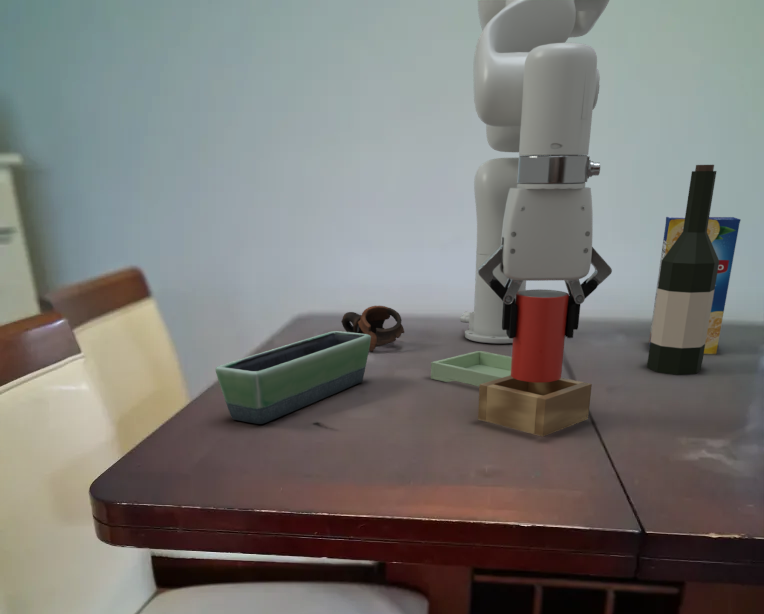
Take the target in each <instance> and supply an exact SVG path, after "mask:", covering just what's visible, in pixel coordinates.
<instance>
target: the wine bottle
mask: <svg viewBox="0 0 764 614" xmlns="http://www.w3.org/2000/svg"><path fill="white" fill-rule="evenodd" d="M714 169H715V164H695V170H691V175H690V180H689V181H690V182H689V189H688V195H687V201H686V209H685V214H684V217H685V221H684V228H683V232H682V234H681V235H680V236H679V238H678V239H677V241H676V242H675V243H674V245H673V246H672V247H671V249H670V250H669V251H668V253H667V254H666V255H665V257H664V258H663V260H662V263H661V270H660V277H659V284H658V291H657V298H656V306H655V313H654V320H653V327H652V334H651V341H650V346H649V348H648V356H647V364H646V368H647V369H648V370H651V371H654V372H656V373H659V374H670V375H677V376H679V375H696V374H698V373H699V372H700V371H701V370H702V366H703V359H704V355H705V354H704V348H705V342H706V336H707V331H708V325H709V319H710V313H711V307H712V301H713V295H714V289H715V283H716V278H717V272H718V266H719V259H718V257H717V255H716V252H715V250H714V248H713V245H712V243H711V241H710V238H709V236H708V234H707V227H708V221H709V217H710V215H711V208H712V202H713V196H714V189H715V183H716V177H717V173H718V172H717V170H714Z"/></svg>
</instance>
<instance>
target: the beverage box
mask: <svg viewBox="0 0 764 614" xmlns="http://www.w3.org/2000/svg"><path fill="white" fill-rule="evenodd" d="M684 221H685V216H666V217H665V225H664V232H663V240H662V246H661V253H660V254H661V255H660V261H659V262H660V263H659V268H658V275H657V281H656V282H657V284H656V289H655V297H654V302H653V303H654V304H653V310H652V317H651V318H652V319H651V326H650V332H649V339H648V345H649V347H650V341H651V334H652V327H653V320H654V313H655V306H656V298H657V291H658V284H659V277H660V270H661V263H662V260H663V258H664V257H665V255H666V254H667V253H668V251H669V250H670V249H671V247H672V246H673V245H674V243H675V242H676V241H677V239H678V238H679V236H680V235H681V234H682V232H683V228H684ZM740 224H741V219H740V218H737V217H734V216H709V221H708V227H707V234H708V236H709V238H710V241H711V243H712V245H713V248H714V250H715V252H716V255H717V257H718V259H719V266H718V272H717V278H716V283H715V289H714V295H713V301H712V307H711V313H710V319H709V325H708V331H707V336H706V342H705V348H704V354H703V355H717V353H718V347H719V341H720V335H721V331H722V324H723V318H724V312H725V307H726V302H727V296H728V292H729V291H728V290H729V286H730V285H729V284H730V279H731V273H732V269H733V262H734V257H735V253H736V251H735V250H736V246H737V240H738V235H739V229H740Z"/></svg>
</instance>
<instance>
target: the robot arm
mask: <svg viewBox="0 0 764 614" xmlns="http://www.w3.org/2000/svg"><path fill="white" fill-rule="evenodd" d="M609 2H610V0H477V12H478V19H479V23H480V24H479V25H480V28H481V33H480V34H479V37H478V39H477V42H476V46H475V50H474V56H473V69H472V72H473V73H472V74H473V75H472V77H473V79H472V80H473V102H474V109H475V112H476V115H477V116H478V118H479V119H480V121H481V122H482V123H483V124H485V130H486V140H487V144H488V145H489V146H490V148H491V149H492V150H495V151H498V152H501V153H518V157H496V158H492V159H489V160H486V161H485V162H483V163H481V164H480V165H479V166H478V168H477V169H476V172H475V175H474V181H473V191H474V199H475V200H474V203H475V213H476V251H475V253H476V255H475V275H474V276H475V278H474V303H473V311H465V312H463V314H462V315H461V316H460V317H459V322H460V323H465V324H468V329H466V330H465V331H464V337H465V338H466V339H467V340H469V341H472V342H476V343H483V344H495V345H497V344H498V345H500V344H501V345H502V344H505V345H506V344H513V338H514V337H515V336H516V322H517V305H516V304H515V300H516V294H517V292H519V291H524V290H527V288H526V287H527V281H530V282H531V281H535V282H536V281H537V282H538V281H564V284H565V287H566V290H567V293H568V294H569V300H568V310H567V321H566V331H565V338H567V339H573V338H574V331H577V330H578V329H579V325H580V314H581V313H580V312H581V305H582V304H583V303H584V302H585V301H586V299H587V298H588V297H589V296H590V295H591V294H592V293H593V292H594V291H596V289H597V288H598V286H599V285H601V284H602V283H603V282H604V281H605V280H607V278H608V277H609V276H611V274H612V272H613V268H612V267H611V266H610V265H609V264H608V263H607V261H606V260H605V259H604V258H603V257H602V256H601V255H600V254H599V253H598V251H597V250H596V249H595V248H594V247H593V199H592V197H593V196H592V188H591V187H589V186H588V187H587V186H586V183H588V180H589V179H590V178H592V177H593V176H595V177H596V176H599V175H600V172H601V163H600V162H594V161H593V160H591V159H590V158H591V157H590V156H589V150H590V141H591V131H592V122H593V121H592V120H593V110H594V109H595V108H596V106H597V103H598V98H599V94H600V86H601V85H600V80H601V79H600V78H601V77H600V70H599V69H598V56H597V52H596V51H595V49H594V47H592V46H591V45H589V44H586V43H580V42H567V41H568V39H570V38H579V37H580V38H581V37H583V36H585V35H587V34H588V33H590V31H591V30H592V29H593V28H594V26H595V25H596V23H597V22H598V21H599V19H600V17H601V16H602V15H603V13H604V11H605V10H606V9H607V6H608V4H609ZM591 266H592V267H593V268H594V271H593V273H591V276H589V277H587V276H588V275H589V273H590V269H591ZM586 277H587V278H586ZM583 278H586V279H584V281H583V282H582V283H581V282H580V280H581V279H583Z"/></svg>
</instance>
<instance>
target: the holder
mask: <svg viewBox="0 0 764 614" xmlns="http://www.w3.org/2000/svg"><path fill="white" fill-rule="evenodd" d="M592 385H593V384H592V383H589V382H585V381H580V380H576V379H575V380H574V379H570V378H566V377H561V378H560V379H559V380H556V381H552V382H542V383H537V382H526V381H520V380H517V379H514V378H513V377H511V375H510V376H507V377H503V378H500V379H496V380H493V381H489V382H486V383H482V384H480V386H478V389H479V391H478V394H479V395H478V407H477V408H478V410H477V420H479V421H483V422H487V423H491V424H495V425H498V426H502V427H505V428H509V429H513V430H516V431H520V432H523V433H528V434H531V435H536V436H539V437H542V438H543V437H546V436H548V435H551V434H553V433H555V432H558V431H561V430H564V429H567V428H568V427H571V426H574V425H577V424H579V423H581V422H584V421H587V420H588V419H589V412H590V404H591V395H592V387H593V386H592Z"/></svg>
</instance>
